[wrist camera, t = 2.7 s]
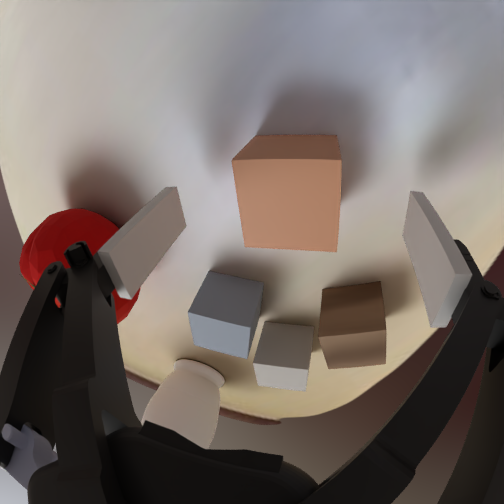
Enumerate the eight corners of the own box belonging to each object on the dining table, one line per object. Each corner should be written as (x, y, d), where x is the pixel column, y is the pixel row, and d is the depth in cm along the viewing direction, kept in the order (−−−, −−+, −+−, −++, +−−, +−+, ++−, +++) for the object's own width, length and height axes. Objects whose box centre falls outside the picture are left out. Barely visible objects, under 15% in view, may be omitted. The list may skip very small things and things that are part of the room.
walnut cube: (322, 288, 22) (318, 337, 19) (380, 280, 20) (386, 329, 17) (332, 324, 25) (328, 369, 21) (382, 318, 23) (385, 363, 19)
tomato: (70, 166, 21) (-10, 226, 13) (173, 235, 23) (107, 328, 15) (65, 240, 28) (13, 297, 20) (145, 297, 30) (102, 368, 22)
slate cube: (209, 270, 24) (187, 312, 21) (264, 282, 24) (250, 327, 20) (211, 305, 28) (194, 345, 24) (259, 316, 27) (247, 359, 23)
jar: (212, 391, 44) (185, 464, 32) (161, 363, 41) (125, 438, 30) (244, 379, 37) (215, 472, 26) (183, 346, 35) (140, 443, 23)
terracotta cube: (255, 135, 16) (231, 160, 12) (336, 134, 15) (341, 160, 11) (263, 204, 19) (244, 247, 15) (335, 207, 18) (336, 252, 14)
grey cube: (264, 321, 27) (252, 362, 23) (314, 325, 26) (308, 369, 22) (268, 347, 30) (258, 385, 26) (311, 352, 29) (305, 391, 25)
